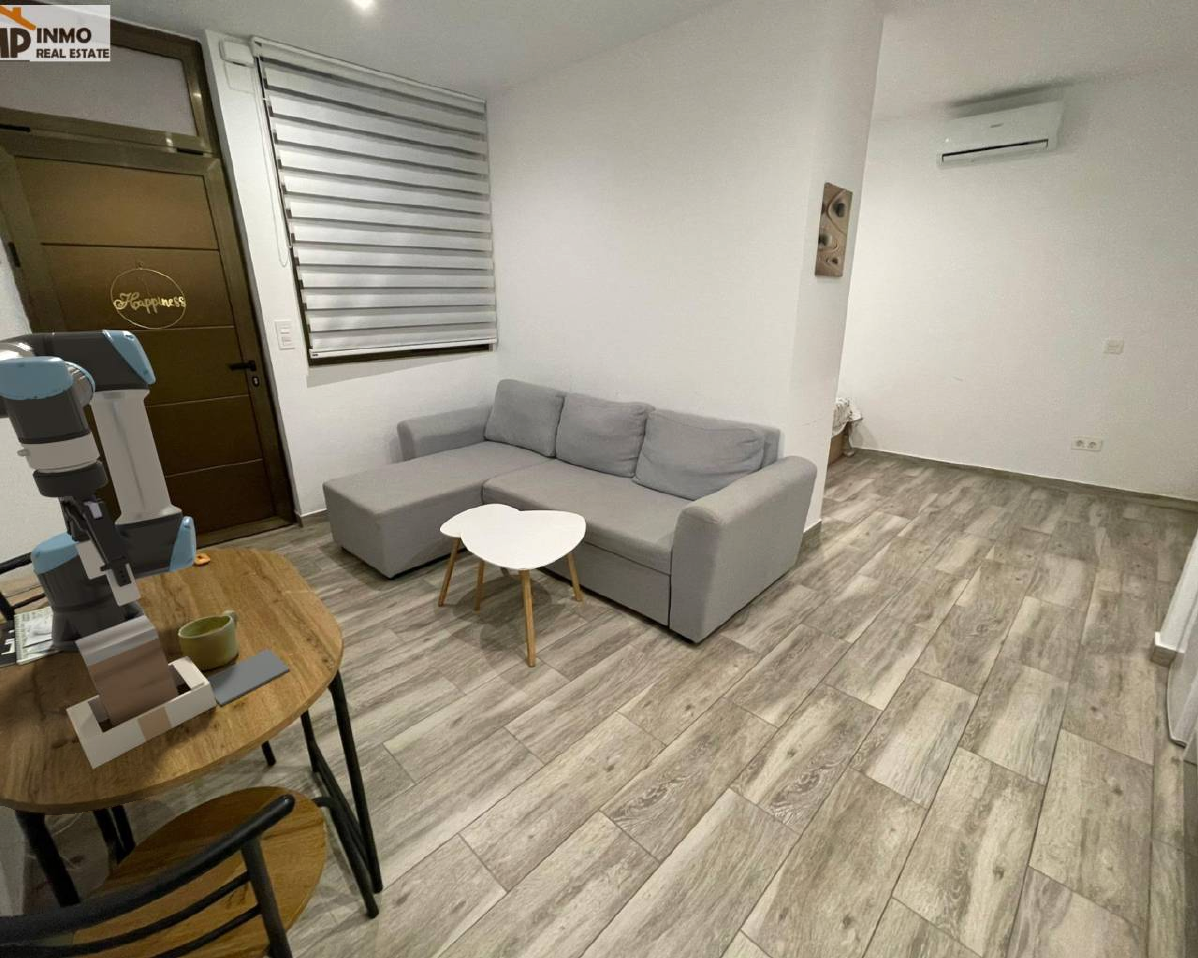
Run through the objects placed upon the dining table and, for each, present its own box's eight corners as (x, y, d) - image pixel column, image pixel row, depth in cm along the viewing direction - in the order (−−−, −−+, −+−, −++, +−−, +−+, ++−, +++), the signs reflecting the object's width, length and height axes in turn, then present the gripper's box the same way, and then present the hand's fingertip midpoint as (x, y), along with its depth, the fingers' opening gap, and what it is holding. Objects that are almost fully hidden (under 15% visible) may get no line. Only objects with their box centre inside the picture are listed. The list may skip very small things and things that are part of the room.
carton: (76, 731, 91) (65, 707, 89) (194, 676, 103) (186, 653, 101) (92, 769, 83) (81, 743, 82) (217, 704, 96) (209, 681, 94)
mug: (212, 674, 101) (196, 625, 100) (175, 680, 104) (159, 633, 103) (267, 645, 113) (253, 602, 112) (232, 651, 116) (218, 609, 115)
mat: (202, 682, 102) (201, 680, 102) (268, 649, 111) (268, 648, 110) (221, 705, 96) (220, 704, 96) (289, 669, 105) (289, 668, 105)
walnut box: (111, 725, 92) (75, 640, 85) (174, 695, 98) (144, 614, 92) (120, 743, 88) (83, 656, 82) (185, 710, 95) (155, 627, 89)
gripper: (9, 456, 81) (59, 574, 88) (57, 490, 68) (111, 626, 76) (74, 444, 87) (116, 556, 94) (129, 474, 74) (173, 601, 81)
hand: (114, 587), depth 85 cm, fingers open, 13 cm apart
